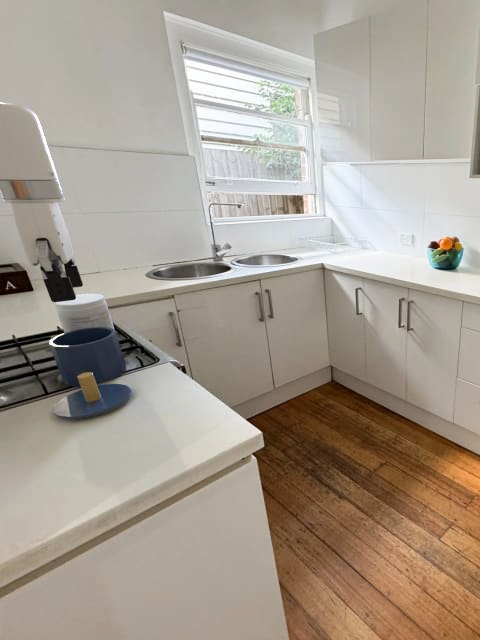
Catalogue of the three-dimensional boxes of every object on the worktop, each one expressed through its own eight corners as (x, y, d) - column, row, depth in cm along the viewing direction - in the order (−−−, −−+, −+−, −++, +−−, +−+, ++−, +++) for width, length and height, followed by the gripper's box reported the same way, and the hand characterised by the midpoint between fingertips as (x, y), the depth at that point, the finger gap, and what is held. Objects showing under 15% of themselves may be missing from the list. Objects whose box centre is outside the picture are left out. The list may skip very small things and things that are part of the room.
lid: (54, 429, 69) (41, 398, 66) (54, 400, 78) (43, 372, 75) (136, 406, 76) (127, 377, 74) (128, 382, 85) (120, 355, 82)
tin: (64, 392, 81) (48, 351, 77) (63, 371, 88) (49, 334, 85) (129, 376, 87) (117, 338, 84) (123, 358, 95) (112, 323, 91)
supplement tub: (72, 352, 98) (52, 297, 92) (117, 343, 104) (101, 290, 98) (75, 365, 91) (54, 307, 85) (123, 354, 97) (106, 299, 91)
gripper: (14, 190, 67) (50, 285, 73) (-18, 195, 53) (30, 310, 60) (69, 190, 70) (99, 280, 77) (53, 194, 57) (90, 303, 64)
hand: (68, 293), depth 69 cm, fingers open, 9 cm apart
